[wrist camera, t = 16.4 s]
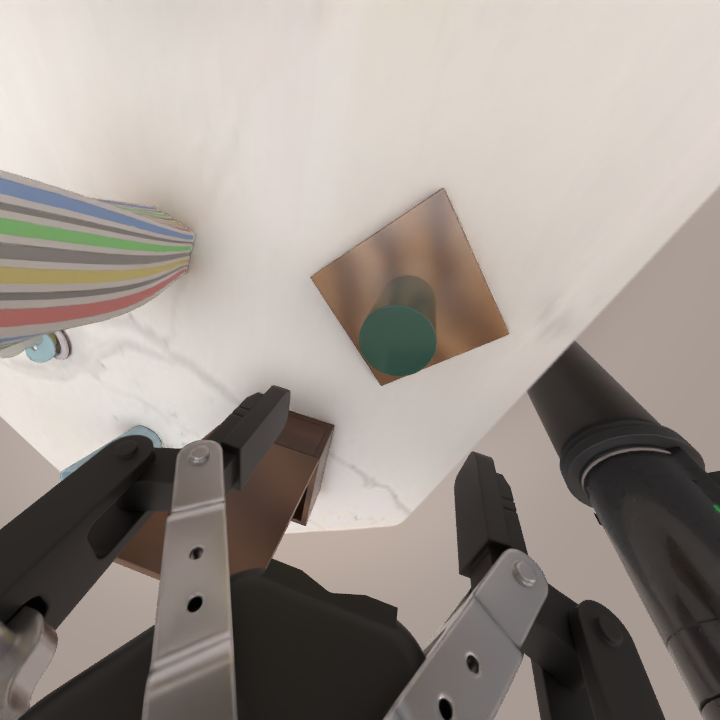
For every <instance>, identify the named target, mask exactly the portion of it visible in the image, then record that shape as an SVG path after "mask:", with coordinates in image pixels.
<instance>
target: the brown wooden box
mask: <svg viewBox="0 0 720 720" xmlns="http://www.w3.org/2000/svg"><path fill="white" fill-rule="evenodd" d="M333 430H334V425H331V424H328V423H325V422H322V421H319V420H316V419H313V418H310V417H307V416H304V415H301V414H298V413H295V412H292V411H288V418H287V421H286V424H285V426H284V428H283V430H282V431H281V433H280V434H279V436H278V437H277V439H276V440H275V442H274V444H277V445H280V446H283V447H286V448H289V449H292V450H295V451H298V452H300V453H303V454H306V455H309V456H312V457H315V458H318V459H319V462H318V465H317V467H316V469H315V471H314V473H313V475H312V477H311V479H310V481H309V483H308V485H307V487H306V490H305V492H304V494H303V496H302V498H301V500H300V502H299V504H298V506H297V508H296V510H295V512H294V514H293V516H292V519H291V521H293V522H296V523H298V524H301V525H304V526H306V524H307V521H308V519H309V516H310V514H311V511H312V509H313V506H314V504H315V501H316V499H317V496H318V494H319V491H320V486H321V482H322V478H323V474H324V469H325V465H326V461H327V456H328V452H329V448H330V443H331V439H332V435H333Z"/></svg>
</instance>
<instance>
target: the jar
mask: <svg viewBox="0 0 720 720" xmlns="http://www.w3.org/2000/svg"><path fill="white" fill-rule="evenodd" d="M359 346H360V350H361V352H362V354H363V356H364V358H365V359H366V361H367V362H368V363H369V364H370V365H371V366H372V367H373V368H375V369H376V370H378V371H380V372H382V373H384V374H387V375H391V376H407V375H411V374H414V373H416V372H418V371H420V370H422V369H423V368H424V367H426V366H427V365H428V364H429V362H430V361H431V360H432V358H433V356H434V354H435V351H436V346H437V325H436V297H435V294H434V291H433V289H432V288H431V286H430V285H429V284H428V283H427V282H426V281H424V280H423V279H421V278H419V277H416V276H410V275H405V276H400V277H397V278H395V279H393V280H391V281H390V282H389V283H387V284H386V286H385V287H384V288H383V290H382V291H381V293H380V295H379V297H378V298H377V300H376V302H375V303H374V305H373V307H372V308H371V310H370V312H369V314H368V315H367V317H366V319H365V320H364V322H363V324H362V326H361V329H360V332H359Z"/></svg>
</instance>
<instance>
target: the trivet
mask: <svg viewBox="0 0 720 720" xmlns="http://www.w3.org/2000/svg"><path fill="white" fill-rule="evenodd" d="M405 275H410V276H416V277H419V278H421V279H423V280H424V281H426V282H427V283H428V284H429V285H430V286H431V288H432V289H433V291H434V294H435V297H436V325H437V346H436V351H435V354H434V356H433V358H432V360H431V361H430V362H429V364H428V365H427V366H426V367H424V368H427V367H429V366H432V365H434V364H437V363H439V362H442V361H444V360H447V359H449V358H452V357H454V356H456V355H459V354H461V353H464V352H466V351H469V350H471V349H474V348H476V347H479V346H481V345H484V344H486V343H489V342H491V341H494V340H496V339H498V338H501V337H503V336H506V335H508V334H509V332H508V330H507V328H506V325H505V323H504V321H503V319H502V317H501V314H500V312H499V310H498V308H497V305H496V303H495V301H494V299H493V296H492V294H491V292H490V290H489V288H488V285H487V283H486V281H485V279H484V276H483V274H482V272H481V270H480V267H479V265H478V263H477V261H476V259H475V256H474V254H473V252H472V250H471V247H470V245H469V243H468V241H467V238H466V236H465V234H464V232H463V230H462V227H461V225H460V223H459V221H458V218H457V216H456V214H455V212H454V209H453V207H452V205H451V203H450V201H449V198H448V196H447V194H446V192H445V189H444V188H442V189H441V190H439V191H438V192H436V193H435V194H433V195H432V196H430V197H429V198H427V199H426V200H424V201H423V202H421V203H420V204H418V205H417V206H416V207H414V208H413V209H411V210H410V211H408V212H407V213H405V214H404V215H402V216H401V217H399V218H398V219H396V220H395V221H393V222H392V223H390V224H389V225H387V226H386V227H384V228H383V229H381V230H380V231H378V232H377V233H375V234H374V235H372V236H371V237H369V238H368V239H366V240H365V241H363V242H362V243H360V244H359V245H357V246H356V247H354V248H353V249H351V250H350V251H348V252H347V253H345V254H344V255H342V256H341V257H339V258H338V259H336V260H335V261H333V262H332V263H331V264H329V265H328V266H326V267H325V268H323V269H322V270H320V271H319V272H317V273H316V274H314V275H313V276H311V277H310V278H311V279H312V281H313V282H314V284H315V285H316V287H317V288H318V290H319V291H320V293H321V295H322V296H323V298H324V299H325V301H326V302H327V304H328V305H329V307H330V308H331V310H332V311H333V313H334V314H335V316H336V317H337V319H338V321H339V322H340V324H341V325H342V327H343V328H344V330H345V331H346V333H347V334H348V336H349V337H350V339H351V340H352V342H353V344H354V345H355V347H356V348H357V350H358V351H359V353H360V354H361V356H362V357H363V359H364V360H365V362H366V363H367V365H368V366H369V368H370V370H371V371H372V373H373V374H374V376H375V377H376V379H377V380H378V382H379V383H380V385H381V386H382V385H385V384H387V383H390V382H392V381H395V380H397V379H400V378H402V377H405V376H391V375H387V374H384V373H382V372H380V371H378V370H376V369H375V368H373V367H372V366H371V365H370V364H369V363H368V362H367V361H366V359H365V358H364V356H363V354H362V352H361V350H360V346H359V332H360V329H361V326H362V324H363V322H364V320H365V319H366V317H367V315H368V314H369V312H370V310H371V308H372V307H373V305H374V303H375V302H376V300H377V298H378V297H379V295H380V293H381V291H382V290H383V288H384V287H385V286H386V284H387V283H389V282H390V281H391V280H393V279H395V278H397V277H400V276H405ZM424 368H423V369H424Z"/></svg>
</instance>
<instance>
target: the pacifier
mask: <svg viewBox="0 0 720 720" xmlns="http://www.w3.org/2000/svg"><path fill="white" fill-rule="evenodd" d="M55 335H56V336H57V338H58V340H59V342H60V345H61V353H58V352H56V346H55V345H56V344H57V339H56V336H55ZM35 345H36V346H37V350H35V349H34V348H33V346H35ZM24 349H25V351H26V354H27V356H28V357H29V358H30V359H31V360H32V361H34V362H46V361H48V360H50V359H52V358H53V357H55V358H56V359H59V360H64V359H66V358H67V356H68V353H69V347H68V343H67V340H66V338H65V336H64V335H63V333H62V332H61V331H57V332H54V333H50V334H46V335H43V336H40V337H36V338H33V339H30V340H27V341H24V342H21V343H19V344H16V345H13V346H10V347H8V348H5V349H3V350H1V351H0V358H9V357H13V356H16V355H18V354H20V353H22V352H23V351H24Z"/></svg>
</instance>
